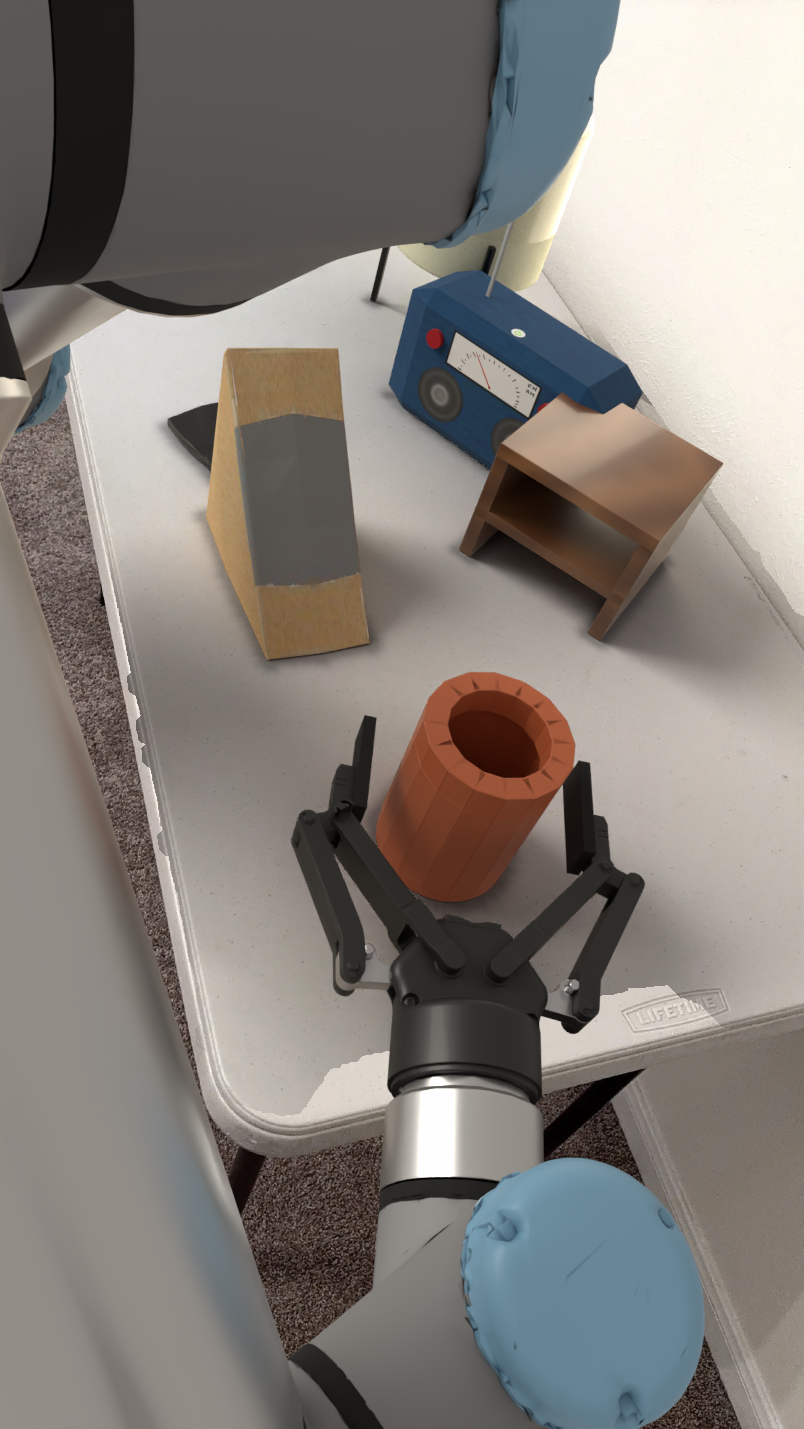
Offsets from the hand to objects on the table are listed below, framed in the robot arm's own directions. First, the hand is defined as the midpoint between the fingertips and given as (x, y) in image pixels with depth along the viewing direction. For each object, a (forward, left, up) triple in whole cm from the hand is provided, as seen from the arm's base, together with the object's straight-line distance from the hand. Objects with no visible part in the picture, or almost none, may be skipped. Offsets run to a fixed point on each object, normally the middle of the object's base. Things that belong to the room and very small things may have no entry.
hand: (472, 751), depth 61 cm
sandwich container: (-20, +9, -7) cm, 23 cm away
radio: (-19, +38, -7) cm, 43 cm away
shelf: (-6, +30, -7) cm, 31 cm away
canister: (+1, -2, -7) cm, 7 cm away
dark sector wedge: (-33, +20, -7) cm, 39 cm away
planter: (-32, +50, -7) cm, 60 cm away
